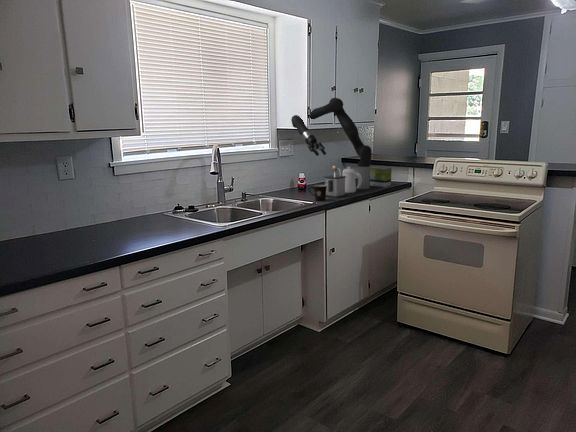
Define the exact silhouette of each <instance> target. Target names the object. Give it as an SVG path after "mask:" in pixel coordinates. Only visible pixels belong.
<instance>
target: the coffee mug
mask: <svg viewBox="0 0 576 432" xmlns="http://www.w3.org/2000/svg"><path fill="white" fill-rule="evenodd" d="M326 188H327V185H325V184H314V185H313V186H310V187H309V188H308V192H309V193H310V194H311V195H312V196H313V197H314V198H315V201H316V202H325V201H326V198H327V197H326ZM310 189H313V192H314V193H313V192H311V190H310Z"/></svg>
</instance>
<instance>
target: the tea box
mask: <svg viewBox="0 0 576 432" xmlns="http://www.w3.org/2000/svg"><path fill="white" fill-rule="evenodd" d="M392 171H393V170H392V167H386V166H385V167H384V166H383V167H382V166H372V167H370V187H371V186H373V187H380V188H381V187H382V188H387V187H391V186H392Z"/></svg>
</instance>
